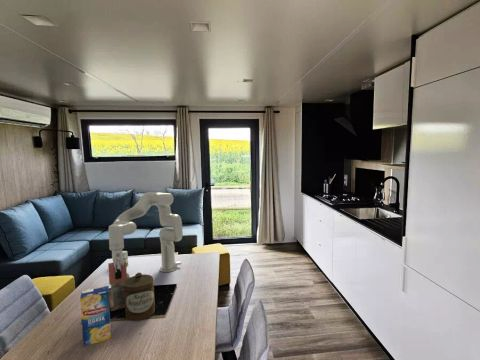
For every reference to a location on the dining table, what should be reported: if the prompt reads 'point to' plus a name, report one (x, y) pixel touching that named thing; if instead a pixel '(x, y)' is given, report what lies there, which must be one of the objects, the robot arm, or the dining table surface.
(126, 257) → the ink box
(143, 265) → the dining table surface
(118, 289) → the shelf
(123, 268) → the salmon red block
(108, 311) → the beverage box
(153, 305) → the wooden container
